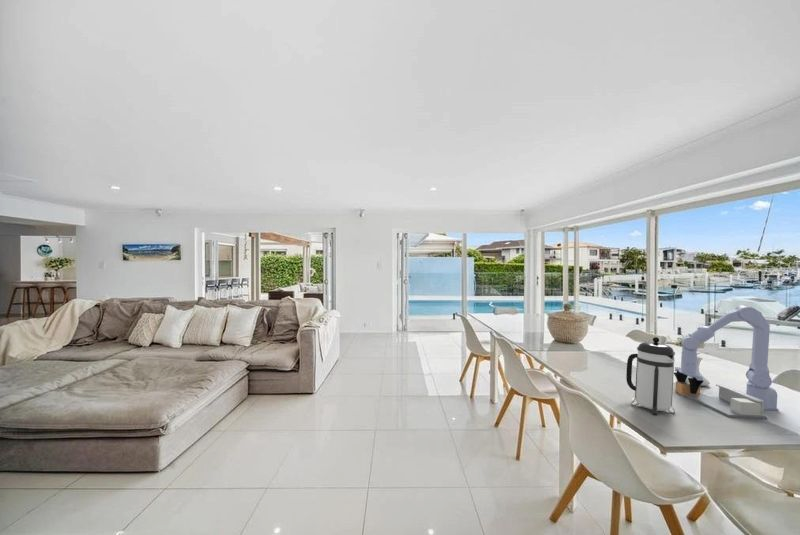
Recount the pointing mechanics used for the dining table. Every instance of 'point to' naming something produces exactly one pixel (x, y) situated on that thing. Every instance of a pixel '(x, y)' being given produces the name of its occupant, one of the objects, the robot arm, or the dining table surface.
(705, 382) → the flower in vase
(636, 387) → the coffee press
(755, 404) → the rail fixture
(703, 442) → the dining table surface
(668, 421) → the dining table surface
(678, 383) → the block
